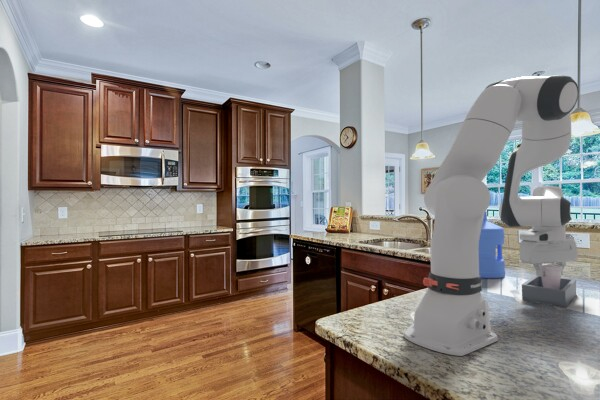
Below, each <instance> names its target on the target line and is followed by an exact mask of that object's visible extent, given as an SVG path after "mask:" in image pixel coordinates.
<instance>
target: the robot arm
mask: <svg viewBox="0 0 600 400" xmlns="http://www.w3.org/2000/svg"><path fill="white" fill-rule="evenodd" d="M578 98H579V85H578V84H577V82H576V80H575V79H573V77H571V76H569V75H564V74H563V75H561V74H552V75H549V76H548V75H547V76H546V75H545V76H544V75H542V76H540V75H539V76H521V77H516V78H509V79H506V80H505V79H500V80H497V81H494V82H492V83H490V84H488V85H487V86H486V87H485V89H484V90H483V91H482V92H481V93H480V94H479V95H478V97H477V98H476V100H475V101H474V103H473V104H472V106H471V107H470V109H469V111H468V113H467V114H466V116H465V119H464V120H463V123H462V125H461V127H460V129H459V131H458V133H457V134H456V136H455V140H454V142H453V144H452V146H451V148H450V149H449V151H448V153H447V155H446V156H445V158H444V159H443V161H442V163H441V164H440V166H439V168H438V169H437V171H436V173H435V175H434V176H433V178H432V180H431V182H430V183H429V184H428V185H429V186H428V187H427V189H426V190H425V192H424V197H423V198H424V199H423V200H424V204H425V207H426V209H427V210H428V211H429V213H431V214H432V215H433V216H434V223H433V231H432V236H431V240H430V247H429V248H430V271H429V273H428V277H427V276H426V277H424V278H423V280H422V282H423V283H422V284H423V286H425V287H427V289H426V292H425V293H424V295H423V296H422V298H421V300H420V302H419V304H418V305H417V307H416V309H415V310H414V316H413V322H412V323H411V325H409V327H408V328H406V330H405V331H404V332H403V338H404V339H406V340H408V341H409V342H410V343H413V344H416V345H418V346H420V347H423V348H425V349H428V350H432V351H435V352H438V353H443V354H446V355H451V356H458V357H463V356H466V355H468V354H471V353H473V352H474V351H477V350H480V349H482V348H483V347H487V346H488V345H491V344H493V343H495V342H497V341H499V339H498V335H497V334H496V333H495V332H493V331H491V330H492V329H491V320H490V318H491V317H490V308H489V302H488V301H487V300H486V299H485V298H484V296H483V295H482V293H481V291H482V285H483V282H482V278H481V276H480V275H479V238H480V233H481V228H482V223H483V218H484V213H485V212H487V210H488V208H489V206H490V203H491V192H490V190H489V188H488V186H487V184H485V183H484V182H483V181H484V179H485V178H486V176H487V175H488V174H489V172H490V171H491V170H492V169H493V168H494V167H495V166H496V164H497V163H498V161H499V159H500V158H501V155H502V153H503V150H504V148H505V147H506V145H507V143H508V140H509V138H510V137H511V134H512V132H513V130H514V127H515V126H516V122H517V121H518V122H521V143H520V146H519V147H518V149H517V150H515V151H514V152H512V153H511V154H510V157H509V159H508V166H507V169H506V174H505V182H504V189H503V198H502V200H501V203H500V206H499V213H498V214H499V219H500V221H501V222H502V223H504V224H505V225H506V226H507V227H509V228H516V227H517V228H519V227H531V228H530V229H528V230H526V231H524V232H521V233H520V234H519V239H520V240H521V242H520V243H519V260H520V261H521V262H522V263H523V264H528V265H532V267H534V268H533V269H534V270H535V271H536V275H537V276H539V277H544V276H545V271H543V270H542V268H541V267H542V264H551V263H553V264H554V263H555V265H560V266H562V267H563V270H562V272H561V276H563V275H564V269H565V267H566V266H567V265H566V264H567V262H576V261H577V260H578V258H579V255H578V253H579V252H578V247H577V243H576V241H575V237H574V236H573V235H571V233H567V232H566V224H568V223H569V222H570V221H572V220H573V219H572V217H571V216H572V215H571V204H572V202H571V201H569V200H568V199H566V198H564V194H563V193H564V192H563V189H562V188H561V187H560V186H555V185H554V186H553V185H543V186H542V185H541V186H538V187H535V188H534V189H533V191H532V196H520V195H519V190H520V184H521V179H522V177H524V175H525V174H527V173H529V172H531V171H533V170H535V169H538V168H540V167H544V166H546V165H547V166H548V165H550V164H552V163H553V162H556V161H557V160H559V159H561V158H562V157H563V156H564V155H565V154H566V153H567V152H568V151H569V149H570V146H571V141H572V119H571V118H572V117H571V112H572V111H573V109H575V106H576V104H577V101H578Z"/></svg>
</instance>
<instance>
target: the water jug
mask: <svg viewBox="0 0 600 400" xmlns="http://www.w3.org/2000/svg"><path fill="white" fill-rule="evenodd" d="M487 213H488V212H487V211H485V213H484V218H483V223H482V228H481V233H480V238H479V275H480V276H481V279H490V278H495V279H502V278H504V277H505V276H506V270H505V269H506V268H505V267H506V266H505V262H506V261H505V259H504V258H503V245H504V244H505V231H504V230H505V228H503V227H502V226H500V225H498V224H495V223H493V222H490V221H488V219H487V218H488V215H487ZM496 248H497V250H496ZM496 252H497V253H496Z"/></svg>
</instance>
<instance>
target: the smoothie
mask: <svg viewBox="0 0 600 400" xmlns="http://www.w3.org/2000/svg"><path fill="white" fill-rule="evenodd" d="M541 268H542V270H543V271H545V276H544V277H542V283H543V287H545V288H552V289H558V290H559V288H560V280H561V278H562V275H561V272H562V270H563V271H564V269H563V267H562V266H560V265H557V264H554V263H542V267H541Z"/></svg>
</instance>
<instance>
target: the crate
mask: <svg viewBox="0 0 600 400" xmlns="http://www.w3.org/2000/svg"><path fill="white" fill-rule="evenodd" d="M576 296H577V280H576V279H572V278H564V277H561V280H560V288H559V290H558V289H552V288H545V287H543V283H542V277H539V276H537V274H536V275H534V276H533V277H531V278H530V279H528V280H527V281H525V282H524V283H522V284H521V300H522V301H527V302H531V303H537V304H543V305H547V306H554V307H558V308H565V309H566V308H567V307H568V306H569V304H570V303H571V302H572V301H573V299H574V298H575V297H576Z"/></svg>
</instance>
